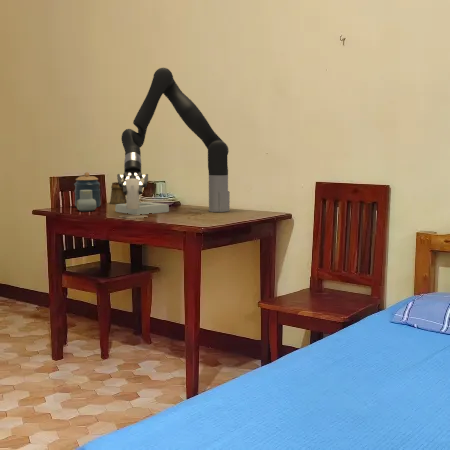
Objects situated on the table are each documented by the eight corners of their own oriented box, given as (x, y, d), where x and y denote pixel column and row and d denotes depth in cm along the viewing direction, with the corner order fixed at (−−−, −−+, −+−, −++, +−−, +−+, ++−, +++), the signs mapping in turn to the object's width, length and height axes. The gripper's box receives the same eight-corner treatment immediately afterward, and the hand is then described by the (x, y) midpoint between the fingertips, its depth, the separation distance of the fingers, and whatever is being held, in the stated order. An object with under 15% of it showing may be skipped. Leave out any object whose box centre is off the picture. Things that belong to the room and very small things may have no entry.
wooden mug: (127, 205, 325) (126, 170, 322) (106, 203, 331) (105, 170, 329) (137, 203, 333) (136, 169, 330) (116, 202, 339) (115, 169, 336)
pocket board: (168, 211, 293) (168, 204, 293) (137, 215, 281) (137, 207, 281) (146, 208, 307) (146, 201, 306) (115, 211, 295) (115, 204, 294)
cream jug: (126, 207, 275) (126, 178, 273) (139, 207, 276) (139, 178, 274) (126, 209, 267) (125, 179, 265) (139, 209, 268) (139, 179, 266)
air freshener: (97, 211, 295) (96, 190, 294) (79, 212, 292) (78, 191, 291) (93, 209, 305) (92, 189, 304) (76, 210, 302) (75, 189, 301)
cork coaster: (147, 217, 273) (147, 216, 273) (130, 219, 267) (130, 217, 267) (136, 215, 279) (136, 214, 279) (119, 217, 273) (119, 215, 273)
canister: (74, 205, 321) (72, 171, 319) (99, 205, 325) (98, 171, 323) (75, 208, 309) (74, 173, 307) (102, 207, 313) (101, 172, 310)
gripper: (116, 159, 276) (115, 188, 266) (148, 159, 278) (149, 188, 268) (117, 170, 282) (116, 199, 272) (148, 170, 284) (149, 199, 274)
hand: (132, 193), depth 270 cm, fingers closed on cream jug, 5 cm apart
